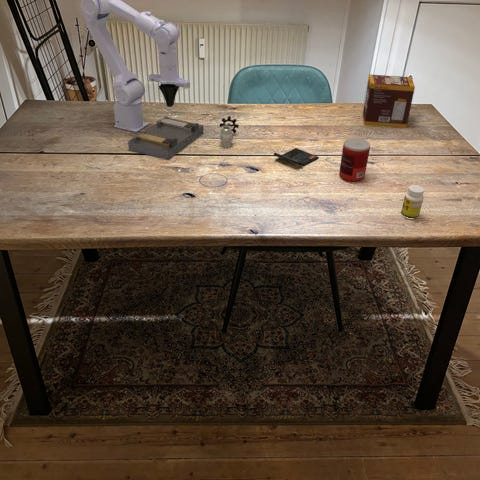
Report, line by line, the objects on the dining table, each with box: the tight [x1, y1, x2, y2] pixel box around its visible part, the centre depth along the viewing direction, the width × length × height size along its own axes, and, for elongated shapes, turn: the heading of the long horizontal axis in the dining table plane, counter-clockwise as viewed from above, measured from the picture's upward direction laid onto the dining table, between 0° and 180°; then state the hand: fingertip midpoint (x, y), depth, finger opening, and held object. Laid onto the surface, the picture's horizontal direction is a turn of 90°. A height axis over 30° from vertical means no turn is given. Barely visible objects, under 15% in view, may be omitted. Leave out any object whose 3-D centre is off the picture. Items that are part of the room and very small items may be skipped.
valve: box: [219, 115, 240, 149], centre depth 178 cm, size 7×7×12 cm
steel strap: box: [160, 118, 194, 131], centre depth 181 cm, size 12×3×1 cm, turn 65°
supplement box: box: [362, 73, 416, 129], centre depth 193 cm, size 10×15×16 cm
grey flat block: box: [127, 115, 204, 161], centre depth 177 cm, size 15×23×5 cm, turn 155°
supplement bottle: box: [400, 184, 425, 219], centre depth 141 cm, size 5×5×8 cm
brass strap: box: [137, 133, 172, 146], centre depth 171 cm, size 12×3×1 cm, turn 65°
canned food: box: [338, 137, 371, 183], centre depth 158 cm, size 8×8×11 cm
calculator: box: [273, 147, 320, 168], centre depth 169 cm, size 9×12×3 cm
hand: (170, 105), depth 177 cm, fingers closed
